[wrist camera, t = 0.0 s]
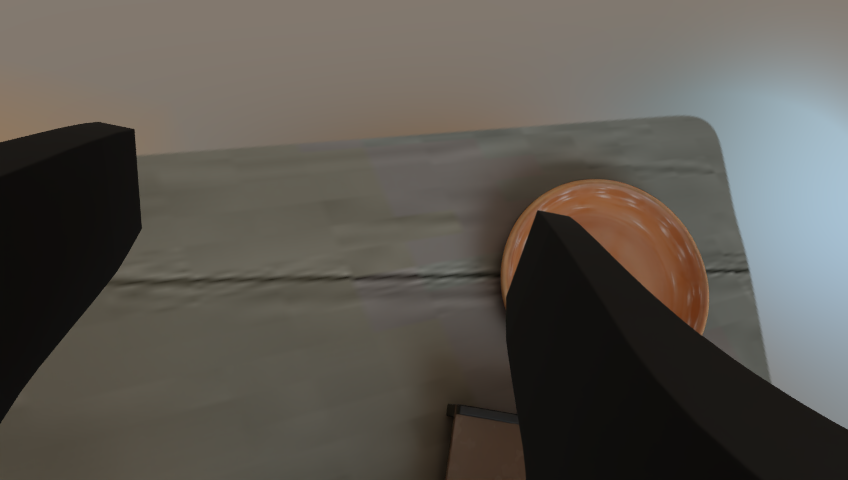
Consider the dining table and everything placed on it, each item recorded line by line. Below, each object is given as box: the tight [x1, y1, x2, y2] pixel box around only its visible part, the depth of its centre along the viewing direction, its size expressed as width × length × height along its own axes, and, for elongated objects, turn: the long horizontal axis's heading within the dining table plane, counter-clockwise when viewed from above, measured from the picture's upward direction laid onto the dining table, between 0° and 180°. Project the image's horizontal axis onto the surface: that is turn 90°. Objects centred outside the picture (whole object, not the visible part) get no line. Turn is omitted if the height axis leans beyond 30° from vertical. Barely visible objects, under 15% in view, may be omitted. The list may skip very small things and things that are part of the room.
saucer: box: [501, 179, 709, 335], centre depth 44 cm, size 16×16×3 cm
